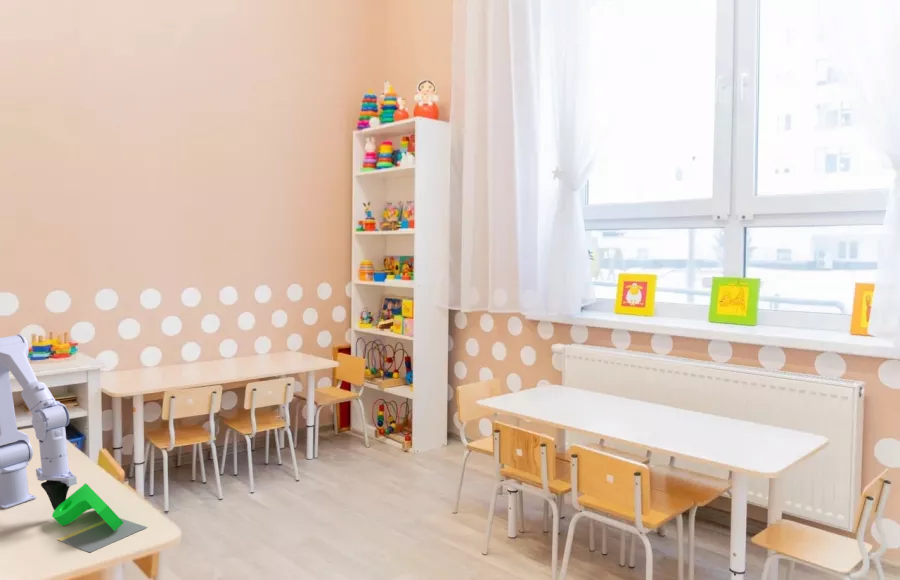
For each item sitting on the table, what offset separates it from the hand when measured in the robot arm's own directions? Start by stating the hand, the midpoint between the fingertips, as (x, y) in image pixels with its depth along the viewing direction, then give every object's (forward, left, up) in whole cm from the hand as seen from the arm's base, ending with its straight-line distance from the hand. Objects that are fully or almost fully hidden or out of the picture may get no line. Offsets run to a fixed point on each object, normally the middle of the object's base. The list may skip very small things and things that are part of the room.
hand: (59, 508), depth 170 cm
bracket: (+12, 0, -2) cm, 12 cm away
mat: (+18, 0, -2) cm, 18 cm away
